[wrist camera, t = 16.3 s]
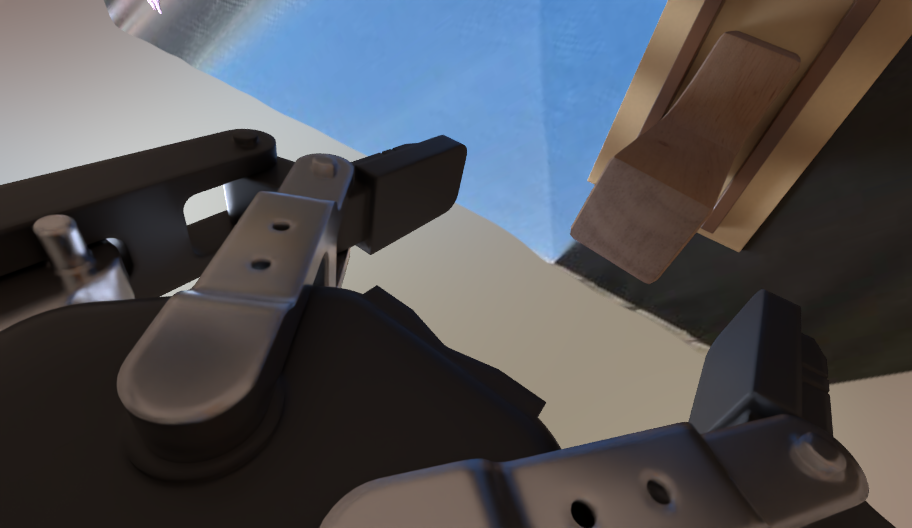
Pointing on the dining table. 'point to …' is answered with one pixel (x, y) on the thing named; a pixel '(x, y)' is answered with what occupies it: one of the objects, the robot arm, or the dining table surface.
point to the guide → (791, 114)
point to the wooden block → (682, 158)
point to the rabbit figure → (155, 1)
